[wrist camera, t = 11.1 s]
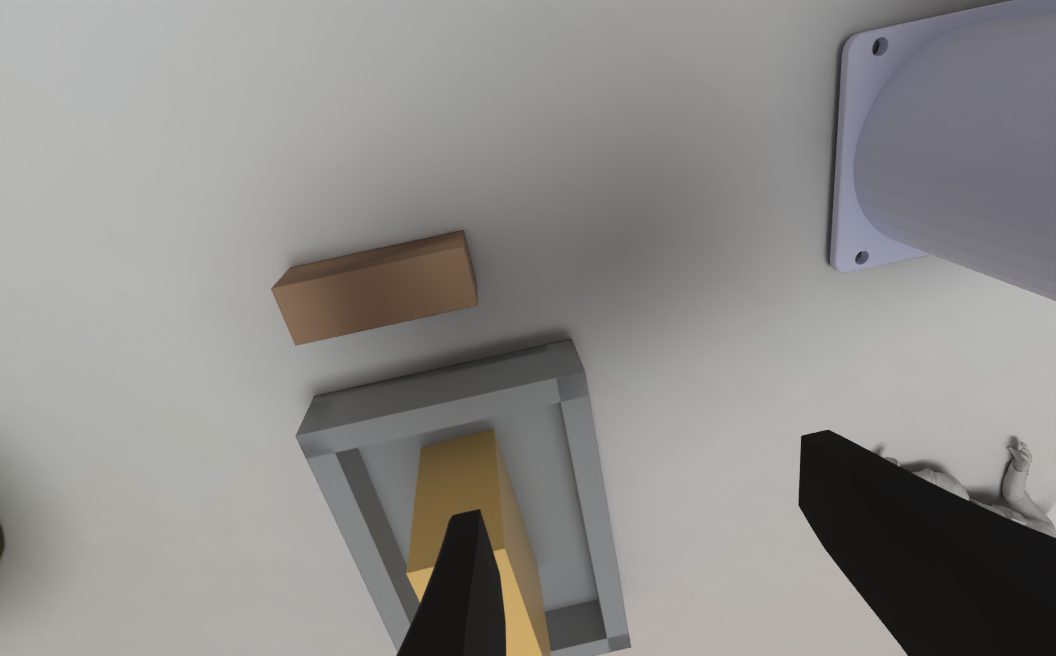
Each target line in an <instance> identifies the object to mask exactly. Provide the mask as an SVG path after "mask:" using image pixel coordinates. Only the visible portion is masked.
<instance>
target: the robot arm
mask: <svg viewBox="0 0 1056 656" xmlns="http://www.w3.org/2000/svg"><path fill="white" fill-rule="evenodd" d="M876 40H878V41H879V44H880V46H879V49H878V51H877V53H876V54H875V55H874V54H873V52H872V46H873V43H874V42H875V41H876ZM861 251H862V254H861V257H860V258H859V259H858V260H856V261H855V258H856V255H857V254H858V253H859V252H861ZM930 254H932V255H935V256H937V257H940V258H943V259H945V260H948V261H951V262H953V263H956V264H959V265H961V266H964V267H967V268H969V269H972V270H975V271H977V272H980V273H983V274H985V275H988V276H991V277H993V278H996V279H999V280H1001V281H1004V282H1007V283H1009V284H1012V285H1015V286H1017V287H1020V288H1022V289H1025V290H1028V291H1030V292H1033V293H1036V294H1038V295H1041V296H1044V297H1046V298H1049V299H1052V300H1054V301H1056V0H1010V1H1005V2H1000V3H996V4H991V5H986V6H982V7H977V8H972V9H967V10H963V11H958V12H953V13H949V14H944V15H939V16H935V17H930V18H925V19H921V20H916V21H911V22H907V23H902V24H897V25H893V26H888V27H883V28H879V29H874V30H869V31H865V32H860V33H857V34H855V35H853V36H851V37H850V38H849V39H848V40H847V42H846V44H845V45H844V48H843V52H842V64H841V81H840V98H839V115H838V132H837V149H836V166H835V183H834V200H833V217H832V234H831V251H830V264H831V266H832V268H833V269H835V270H837V271H839V272H841V273H849V272H853V271H858V270H862V269H867V268H871V267H876V266H880V265H885V264H889V263H894V262H898V261H903V260H907V259H912V258H916V257H921V256H925V255H930ZM799 507H800V509H801V510H802V512H803V514H804V515H805V517H806V519H807V521H808V522H809V524H810V526H811V527H812V529H813V531H814V532H815V534H816V535H817V537H818V539H819V540H820V542H821V543H822V545H823V547H824V548H825V549H826V551H827V552H828V553H829V555H830V556H831V557H832V559H833V560H834V561H835V563H836V564H837V565H838V566H839V568H840V569H841V570H842V572H843V573H844V574H845V575H846V577H847V578H848V579H849V581H850V582H851V583H852V584H853V586H854V587H855V588H856V590H857V591H858V592H859V593H860V595H861V596H862V597H863V598H864V600H865V601H866V602H867V604H868V605H869V606H870V607H871V609H872V610H873V611H874V612H875V614H876V615H877V616H878V617H879V619H880V620H881V621H882V623H883V624H884V625H885V626H886V628H887V629H888V630H889V631H890V633H891V634H892V635H893V637H894V638H895V639H896V640H897V642H898V643H899V644H900V645H901V647H902V648H903V650H904V651H905V652H906V654H907V655H908V656H1056V538H1055V537H1052V536H1050V535H1047V534H1045V533H1042V532H1040V531H1037V530H1035V529H1032V528H1030V527H1027V526H1025V525H1022V524H1020V523H1018V522H1015V521H1013V520H1010V519H1008V518H1006V517H1004V516H1001V515H999V514H997V513H995V512H992V511H990V510H988V509H986V508H984V507H981V506H979V505H977V504H975V503H973V502H970V501H968V500H966V499H964V498H962V497H960V496H958V495H956V494H953V493H951V492H949V491H947V490H945V489H943V488H941V487H939V486H937V485H935V484H933V483H931V482H929V481H927V480H925V479H923V478H921V477H919V476H917V475H915V474H913V473H911V472H909V471H907V470H905V469H903V468H901V467H899V466H898V465H896V464H894V463H892V462H890V461H888V460H886V459H884V458H882V457H880V456H878V455H877V454H875V453H873V452H871V451H869V450H867V449H865V448H863V447H861V446H859V445H858V444H856V443H854V442H852V441H850V440H848V439H846V438H844V437H842V436H840V435H838V434H836V433H834V432H832V431H830V430H825V431H820V432H816V433H811V434H807V435H803V436H801V455H800V480H799ZM396 656H506V620H505V611H504V602H503V594H502V586H501V577H500V572H499V569H498V565H497V562H496V559H495V556H494V552H493V549H492V546H491V543H490V539H489V536H488V533H487V530H486V526H485V523H484V520H483V517H482V513H481V510H480V509H477V510H473V511H468V512H464V513H460V514H455V515H452V517H451V518H450V519H449V522H448V525H447V529H446V533H445V536H444V539H443V542H442V545H441V549H440V551H439V554H438V557H437V560H436V563H435V566H434V569H433V571H432V574H431V577H430V579H429V582H428V584H427V587H426V589H425V592H424V594H423V597H422V599H421V602H420V604H419V607H418V609H417V612H416V614H415V616H414V618H413V620H412V623H411V625H410V627H409V629H408V631H407V634H406V636H405V638H404V640H403V642H402V645H401V647H400V649H399V651H398V653H397V655H396Z"/></svg>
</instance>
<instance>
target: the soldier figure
mask: <svg viewBox="0 0 1056 656" xmlns="http://www.w3.org/2000/svg"><path fill="white" fill-rule="evenodd" d="M1020 444H1021V445H1022V447H1023V448H1021V449H1022V450H1015V449H1013V448H1012V447H1008V449H1009V450H1010V451H1011V452H1012V454H1013V456H1014V458H1015V460H1012V461H1011V463H1010V465H1009V468H1008V471H1007V473H1006V475H1005V477H1004V481H1003V486H1002V487H1003V496H1004V498H1005V499H1006V501H1007V502H1008V505H1009V507H1010V509H1011V510H1010V509H1008V508H1005V507H1003V506H999V505H995V504H993V505H992V506H988V505H985V504H982V503H980V502H977V501H975V500H972V499H969V496H968V494H967V492H966V490H965V489H964V487H963V486H962V485H961V484H960V482H959V481H958V480H957V479H956V478H954V477H952V476H950V475H948V474H946V473H940V472H933V471H932V470H930V469H927V468H925V469H923V470H922V471H920V472H911V473H913V474H915V475H917V476H919V477H921V478H923V479H925V480H927V481H929V482H931V483H933V484H935V485H937V486H939V487H941V488H943V489H945V490H947V491H949V492H951V493H953V494H956V495H958V496H960V497H962V498H964V499H966V500H968V501H970V502H973V503H975V504H977V505H979V506H981V507H984V508H986V509H988V510H990V511H992V512H995V513H997V514H999V515H1001V516H1004V517H1006V518H1008V519H1010V520H1013V521H1015V522H1018V523H1020V524H1022V525H1025V526H1027V527H1030V528H1032V529H1035V530H1037V531H1040V532H1042V533H1045V534H1047V535H1050V536H1052V537H1055V538H1056V530H1055V527H1054V525H1053V523H1052V521H1050V519H1049V518H1048V517H1047V516H1046V515H1045V514H1044V513H1043V512H1042V511H1041V510H1040V508H1039V507H1038V506H1037V505H1035V503H1034V502H1033V501H1032V500H1031V499H1030V497H1029V495H1028V494H1027V492H1026V491H1025V484H1026V482H1025V481H1026V478H1027V475H1028V472H1029V466H1030V463H1031V461H1032V456H1031V454H1030V451H1029V449H1028V447H1027V446H1026V444H1024V443H1023V442H1021V441H1020ZM884 459H886V460H888V461H890V462H892V463H894V464H896V465H898V466H899V467H900V463H899V462H898V461H897V460H896V459H894V458H889V457H886V458H884Z"/></svg>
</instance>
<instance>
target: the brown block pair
mask: <svg viewBox="0 0 1056 656" xmlns="http://www.w3.org/2000/svg"><path fill="white" fill-rule="evenodd" d="M271 290H272V292H273V295H274V297H275V299H276V302H277V304H278V306H279V308H280V311H281V313H282V315H283V318H284V320H285V322H286V325H287V327H288V329H289V332H290V334H291V336H292V339H293V341H294V343H295V346H296V345H301V344H305V343H310V342H314V341H319V340H323V339H328V338H332V337H337V336H342V335H346V334H351V333H355V332H360V331H364V330H369V329H373V328H378V327H382V326H387V325H391V324H396V323H400V322H405V321H410V320H414V319H419V318H423V317H428V316H432V315H437V314H441V313H446V312H450V311H455V310H459V309H464V308H469V307H473V306H478V296H477V283H476V279H475V275H474V271H473V267H472V263H471V259H470V255H469V251H468V247H467V243H466V239H465V235H464V231H463V230H462V231H457V232H453V233H448V234H444V235H439V236H434V237H430V238H425V239H421V240H416V241H411V242H407V243H402V244H398V245H393V246H388V247H384V248H379V249H375V250H370V251H366V252H361V253H356V254H352V255H347V256H343V257H338V258H333V259H329V260H324V261H320V262H315V263H310V264H306V265H301V266H297V267H292V268H290V269H289V270H288V271H287V272H286V273H285V274H284V275H283V276H282V277H281V278H280V279H279V281H278V282H277V283H276V284H275V285H274V286H273V287H272V288H271Z"/></svg>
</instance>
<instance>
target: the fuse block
mask: <svg viewBox="0 0 1056 656" xmlns="http://www.w3.org/2000/svg"><path fill="white" fill-rule="evenodd" d="M477 509H480V510H481V513H482V517H483V520H484V523H485V526H486V530H487V533H488V536H489V539H490V543H491V546H492V549H493V552H494V556H495V559H496V562H497V565H498V569H499V572H500V577H501V586H502V594H503V602H504V611H505V620H506V656H551V649H550V643H549V636H548V630H547V623H546V617H545V610H544V604H543V597H542V591H541V584H540V577H539V571H538V566H537V562H536V559H535V556H534V553H533V550H532V547H531V543H530V540H529V537H528V534H527V531H526V528H525V525H524V521H523V518H522V515H521V512H520V509H519V506H518V502H517V499H516V496H515V493H514V490H513V487H512V484H511V480H510V477H509V474H508V471H507V468H506V465H505V461H504V458H503V455H502V452H501V449H500V446H499V443H498V439H497V436H496V433H495V430H494V429H492V430H488V431H484V432H480V433H476V434H472V435H468V436H464V437H461V438H457V439H453V440H449V441H445V442H441V443H437V444H433V445H430V446H426V447H422V448H421V450H420V458H419V467H418V476H417V484H416V493H415V502H414V511H413V519H412V528H411V537H410V546H409V554H408V563H407V572H406V574H407V576H408V578H409V581H410V583H411V585H412V587H413V589H414V591H415V593H416V595H417V597H418V599H419V602H421V599H422V597H423V594H424V592H425V589H426V587H427V584H428V582H429V579H430V577H431V574H432V571H433V569H434V566H435V563H436V560H437V557H438V554H439V551H440V549H441V545H442V542H443V539H444V536H445V533H446V529H447V525H448V522H449V519H450V518H451V517H452V515H455V514H460V513H464V512H468V511H473V510H477Z"/></svg>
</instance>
